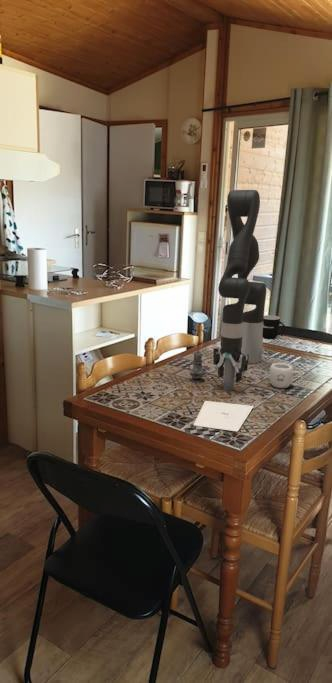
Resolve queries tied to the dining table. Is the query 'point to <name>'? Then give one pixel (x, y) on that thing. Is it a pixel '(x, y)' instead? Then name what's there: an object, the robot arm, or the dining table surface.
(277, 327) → the mug
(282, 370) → the mug
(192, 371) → the weathered grey finial
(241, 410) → the paper sheet
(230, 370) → the marker
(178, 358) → the dining table surface
